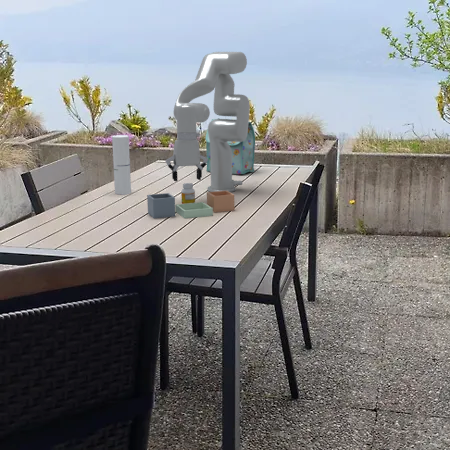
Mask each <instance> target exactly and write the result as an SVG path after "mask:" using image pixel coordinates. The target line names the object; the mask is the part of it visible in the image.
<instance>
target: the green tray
mask: <svg viewBox="0 0 450 450" xmlns="http://www.w3.org/2000/svg"><path fill="white" fill-rule="evenodd" d="M175 213H176V214H178V215H180V216H181V217H182V218H183V219H192V218H194V219H195V218H202V217H203V218H204V217H213V215H214V212H213V208H211V207H210V206H208V205H207V203H205V202H204V201H199V202H195V203H187V204H182V203H180V204H179V203H178V204H176V203H175Z"/></svg>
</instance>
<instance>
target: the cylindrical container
mask: <svg viewBox="0 0 450 450" xmlns="http://www.w3.org/2000/svg"><path fill="white" fill-rule="evenodd" d="M129 138H130V136H129V135H127V134H125V135H124V134H119V135H117V134H116V135H112V136H111V141H112V142H111V143H112V144H111V145H112V162H113V179H114V181H113V182H114V194H116V195H120V194H121V195H129V194H131V193H132V182H131V181H132V179H131V178H132V177H131V176H132V175H131V158H130V153H131V152H130V139H129Z"/></svg>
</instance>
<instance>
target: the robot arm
mask: <svg viewBox="0 0 450 450" xmlns="http://www.w3.org/2000/svg"><path fill="white" fill-rule="evenodd" d="M247 64H248V60H247V56H246V54H245V53H244V52H242V51H215V52H211V53H207V54H205V55H204V57H202V60H201V62H200V65H199V68H198V71H197V74H196V76H195V79H194V80H193V82H190V83H189V84H188V85H187V86H185V88H183V89H182V90H181V91H180V92H179V94H178V96H177V99H176V100H175V104H174V108H173V117H174V119H175V120H176V139H175V140H174V145H173V154H172V155H171V156H170V157H168V158H167V159H165V163H166V165H167V167H168V168H169V169H170V170H171V171H172V173H171V174H172V175H171V176H172V180H173V181H174V182H178V171H177V170H178V169H179V168H180V167H193V166H194V167H196V179H197V180H198V181H201V179H202V177H203V169H204V168H205V167H207V161H208V158H207V156H204V155H202V154H201V151H200V145H199V144H200V143H199V140H198V138H200V136H201V135H200V133H198V132H197V123H205V122H207V120H208V119H209V117H210V115H211V114H210V113H211V111H210V107H209V106H208V105H207V104H205V103H199V102H198V103H197V102H192V101H193V100H195V99H197V98H200V97H204V96H205V95H207V94H211V93H212V92H213V91H214V92H213V93H214V95H213V113H214V114H215V115H216V116H218V117H220V116H221V117H235V118H236V119H232V118H231V119H229V118H219V119H218V118H214V119H215V120H212V119H211V120H212V121H209V123H208V125H207V130H208V134H209V140H210V156H211V172H210V185H209V186H208V187H206V188H207V192H216V191H228V192H230V193H232V192H235V191H236V190H237V189H236V186H242V185H243V180H234V179H233V174H232V150H231V147H230V146H229V144H228V143H227V141H231V142H242V141H244V140H245V139H246V138H247V134H248V123H249V122H250V110H251V108H250V107H251V106H250V104H251V103H250V100H249V98H248V96H247V95H244V94H239V93H238V94H236V93H235V81H234V78H233V76H231V75H236V74H240V73H243V72H244V71H245V70H246V68H247ZM201 160H203V161H202V162H201ZM171 162H172V163H173V165H172V164H171Z"/></svg>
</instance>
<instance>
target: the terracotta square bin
mask: <svg viewBox="0 0 450 450" xmlns="http://www.w3.org/2000/svg"><path fill="white" fill-rule="evenodd" d="M206 204H207V205H208V206H210V207H211V208H213V213H222V212H223V213H225V212H233V211H235V193H232V192H228V191H216V192H210V191H207V192H206Z"/></svg>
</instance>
